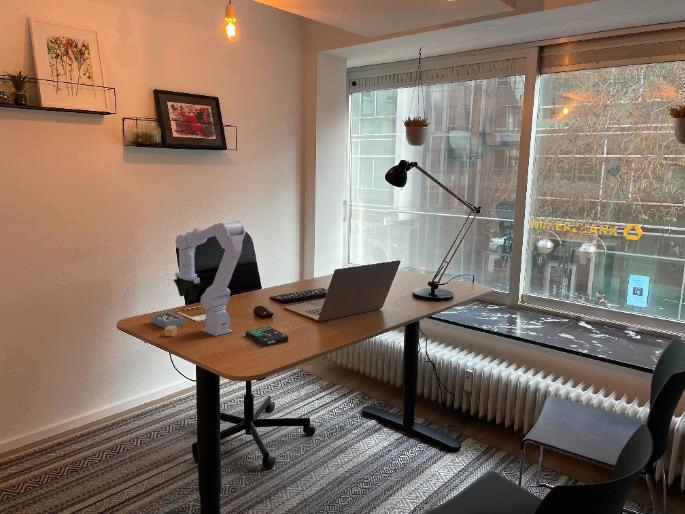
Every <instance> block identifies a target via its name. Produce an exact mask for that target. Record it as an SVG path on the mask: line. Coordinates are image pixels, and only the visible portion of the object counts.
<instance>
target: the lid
mask: <svg viewBox="0 0 685 514" xmlns="http://www.w3.org/2000/svg"><path fill="white" fill-rule="evenodd" d="M163 330H164V331H163V332H164V337H165V336H173V337H174V335H175V334H176V335H177V334H178V327H177V326H168V327H167V328H165V329H163ZM176 335H175V336H176Z"/></svg>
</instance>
